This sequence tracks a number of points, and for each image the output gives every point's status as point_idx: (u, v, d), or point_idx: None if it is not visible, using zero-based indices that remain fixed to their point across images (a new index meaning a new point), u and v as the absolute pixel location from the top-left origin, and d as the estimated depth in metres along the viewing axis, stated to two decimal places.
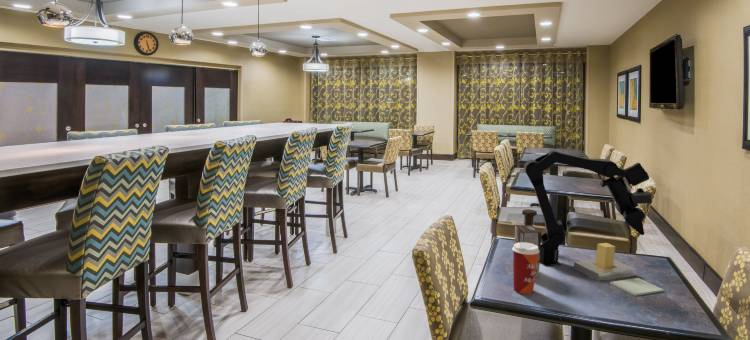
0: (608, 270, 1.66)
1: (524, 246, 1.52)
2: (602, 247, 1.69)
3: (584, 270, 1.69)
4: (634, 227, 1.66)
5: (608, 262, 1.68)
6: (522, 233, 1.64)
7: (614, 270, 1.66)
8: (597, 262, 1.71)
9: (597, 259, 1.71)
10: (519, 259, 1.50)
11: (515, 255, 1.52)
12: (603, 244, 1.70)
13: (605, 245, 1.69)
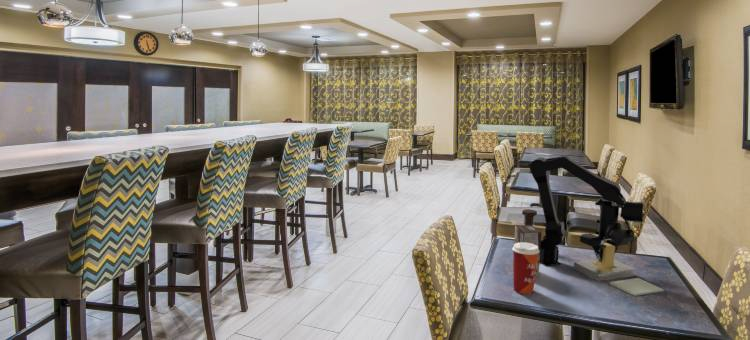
0: (608, 270, 1.66)
1: (524, 246, 1.52)
2: None
3: (584, 270, 1.69)
4: (594, 249, 1.70)
5: (608, 262, 1.68)
6: (522, 233, 1.64)
7: (614, 270, 1.66)
8: (597, 262, 1.71)
9: (597, 259, 1.71)
10: (519, 259, 1.50)
11: (515, 255, 1.52)
12: None
13: None
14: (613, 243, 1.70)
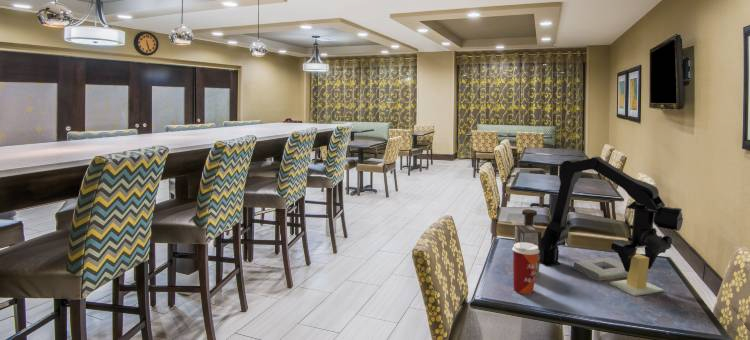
0: (608, 270, 1.66)
1: (524, 246, 1.52)
2: (635, 259, 1.55)
3: (584, 270, 1.69)
4: (621, 258, 1.56)
5: (642, 275, 1.55)
6: (522, 233, 1.64)
7: (614, 270, 1.66)
8: (629, 275, 1.58)
9: (629, 272, 1.58)
10: (519, 259, 1.50)
11: (515, 255, 1.52)
12: (636, 255, 1.57)
13: (638, 257, 1.56)
14: None
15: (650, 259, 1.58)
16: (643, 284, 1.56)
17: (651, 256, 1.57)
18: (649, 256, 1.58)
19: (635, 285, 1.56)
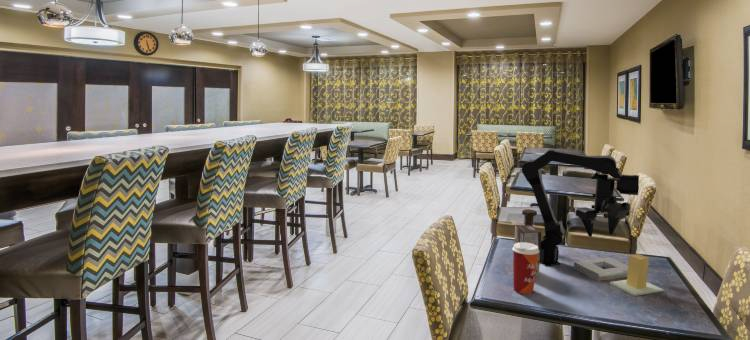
0: (608, 270, 1.66)
1: (524, 246, 1.52)
2: (635, 259, 1.55)
3: (584, 270, 1.69)
4: (584, 224, 1.69)
5: (642, 275, 1.55)
6: (522, 233, 1.64)
7: (614, 270, 1.66)
8: (629, 275, 1.58)
9: (629, 272, 1.58)
10: (519, 259, 1.50)
11: (515, 255, 1.52)
12: (636, 255, 1.57)
13: (638, 257, 1.56)
14: None
15: (612, 225, 1.71)
16: (643, 284, 1.56)
17: (613, 223, 1.71)
18: (611, 223, 1.72)
19: (635, 285, 1.56)
